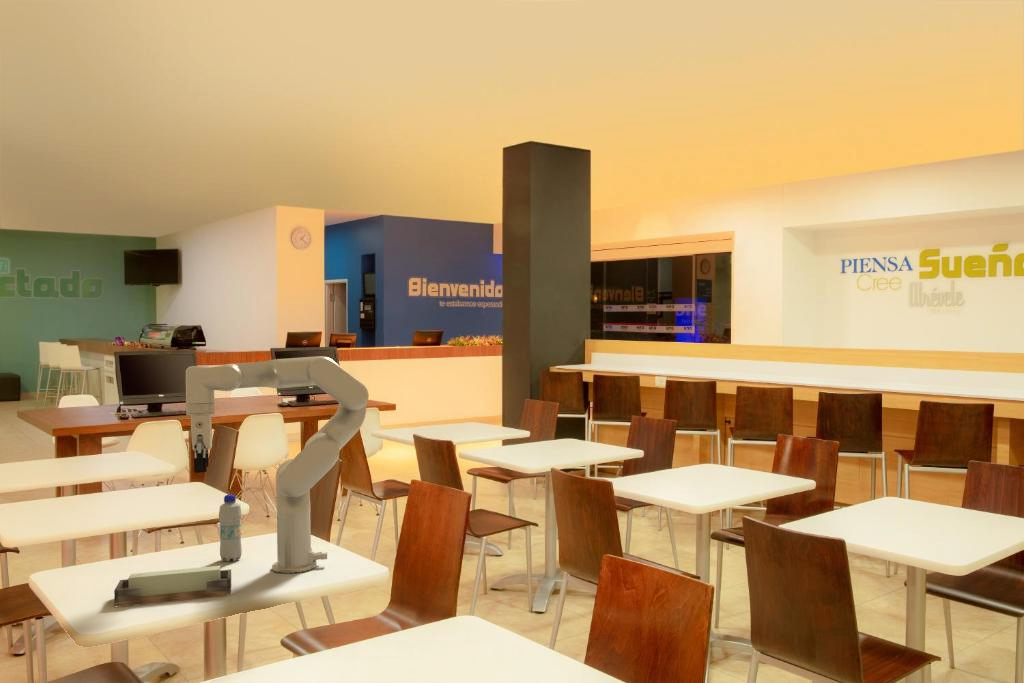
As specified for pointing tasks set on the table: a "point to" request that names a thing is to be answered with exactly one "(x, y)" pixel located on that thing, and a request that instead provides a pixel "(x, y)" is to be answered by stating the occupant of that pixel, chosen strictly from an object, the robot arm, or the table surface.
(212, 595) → the cradle
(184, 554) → the table surface
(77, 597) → the table surface
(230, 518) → the bottle
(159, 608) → the table surface
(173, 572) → the slat
